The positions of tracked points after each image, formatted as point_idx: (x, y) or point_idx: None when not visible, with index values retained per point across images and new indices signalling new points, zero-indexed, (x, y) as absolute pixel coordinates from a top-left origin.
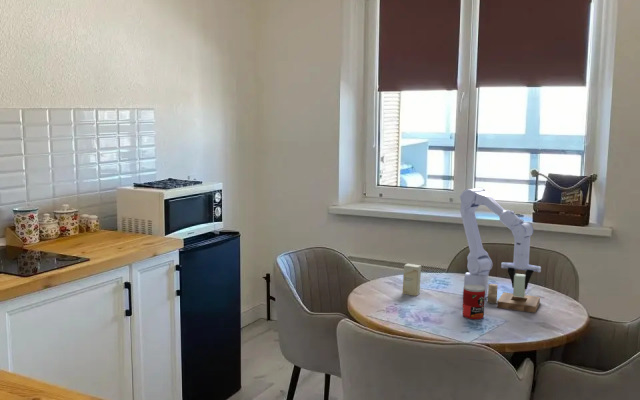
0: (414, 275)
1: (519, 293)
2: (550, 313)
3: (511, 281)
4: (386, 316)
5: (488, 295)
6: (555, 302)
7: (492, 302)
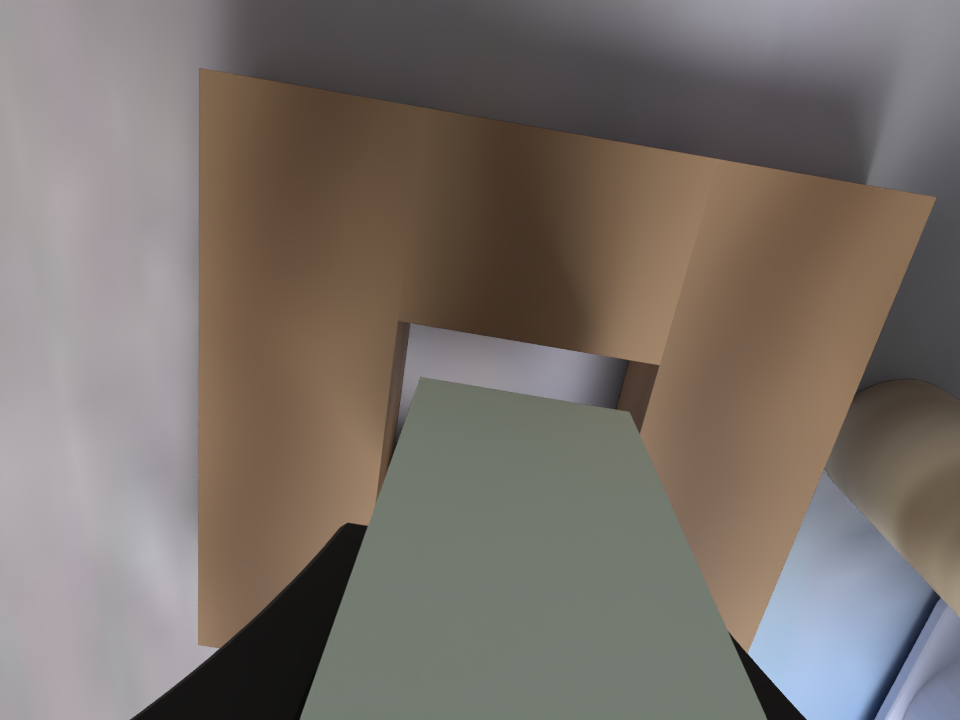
0: None
1: (508, 419)
2: (25, 134)
3: (790, 702)
4: None
5: None
6: (62, 646)
7: (910, 386)
